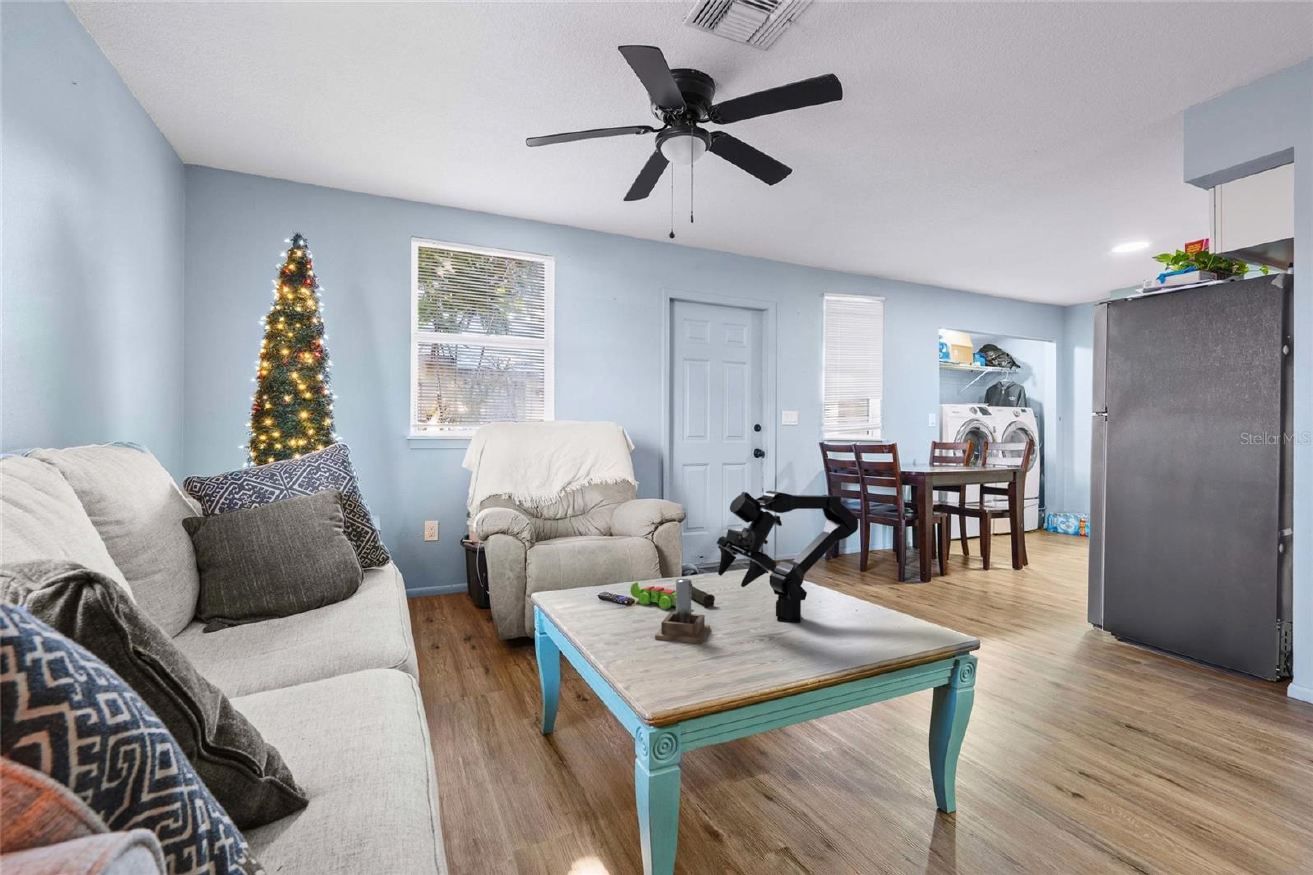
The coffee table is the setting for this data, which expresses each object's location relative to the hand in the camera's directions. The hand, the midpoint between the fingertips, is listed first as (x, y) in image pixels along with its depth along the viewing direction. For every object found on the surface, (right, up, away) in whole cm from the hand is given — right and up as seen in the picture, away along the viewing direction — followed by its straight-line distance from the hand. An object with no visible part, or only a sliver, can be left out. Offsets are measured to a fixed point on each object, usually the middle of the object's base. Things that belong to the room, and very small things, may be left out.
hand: (730, 580), depth 162 cm
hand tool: (-8, -13, +27) cm, 31 cm away
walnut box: (-13, -13, -5) cm, 19 cm away
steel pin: (-13, -12, -5) cm, 18 cm away
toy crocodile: (-19, -13, +21) cm, 31 cm away
